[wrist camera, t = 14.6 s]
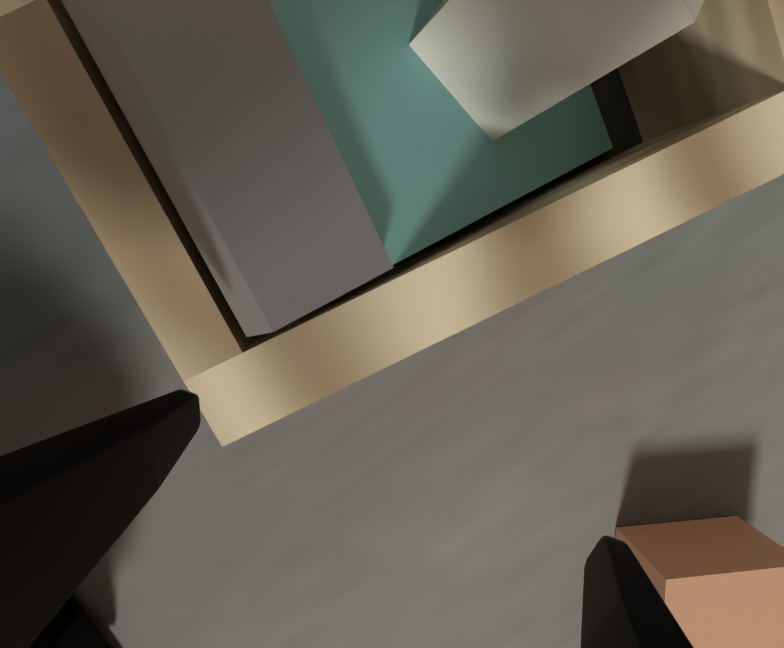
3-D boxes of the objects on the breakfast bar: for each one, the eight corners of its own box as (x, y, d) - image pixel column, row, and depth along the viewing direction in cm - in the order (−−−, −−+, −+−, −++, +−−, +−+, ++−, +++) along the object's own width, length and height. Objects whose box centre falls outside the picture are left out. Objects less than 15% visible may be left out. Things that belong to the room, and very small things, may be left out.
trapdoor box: (264, 381, 22) (222, 447, 15) (84, 55, 19) (-81, -67, 12) (696, 172, 22) (866, 133, 15) (582, -180, 19) (723, -440, 12)
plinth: (611, 640, 26) (657, 710, 22) (615, 527, 25) (666, 579, 21) (727, 627, 27) (792, 692, 23) (736, 515, 25) (807, 564, 21)
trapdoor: (246, 336, 14) (272, 332, 11) (60, -1, 12) (45, -92, 10) (579, 162, 22) (633, 138, 20) (500, -50, 21) (550, -104, 18)
